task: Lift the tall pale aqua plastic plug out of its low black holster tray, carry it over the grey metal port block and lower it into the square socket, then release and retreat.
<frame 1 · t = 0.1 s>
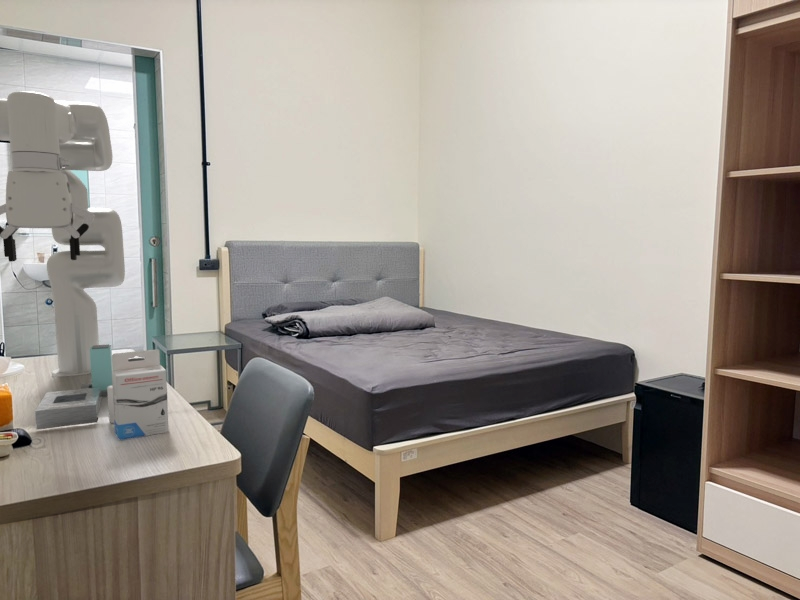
hand: (43, 260, 107), 31 cm above the table, fingers open, 9 cm apart
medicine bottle: (137, 421, 113), on the table
holster: (103, 395, 130), on the table
port: (71, 415, 116), on the table
ink box: (142, 433, 106), on the table
plug: (103, 391, 130), point 1 cm above the table, touching holster
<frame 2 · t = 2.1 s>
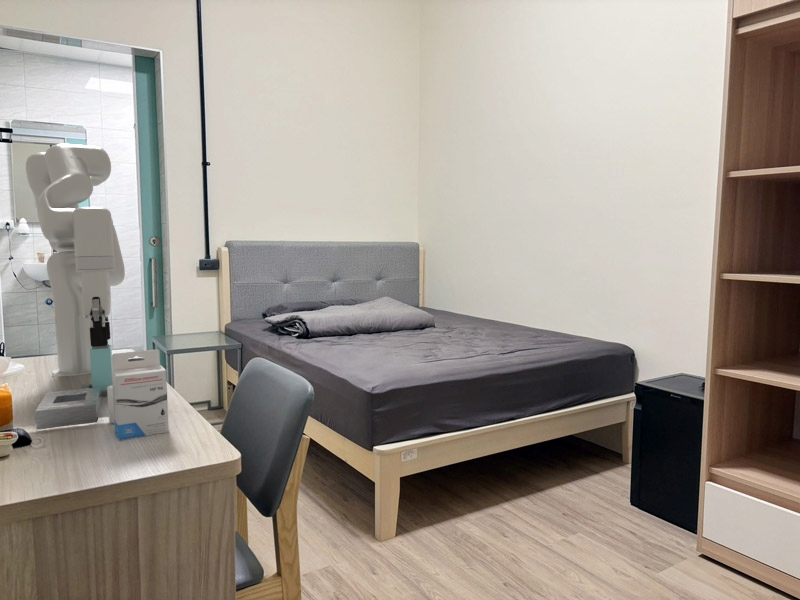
hand: (101, 342, 128), 12 cm above the table, fingers open, 9 cm apart
nothing on the table moved.
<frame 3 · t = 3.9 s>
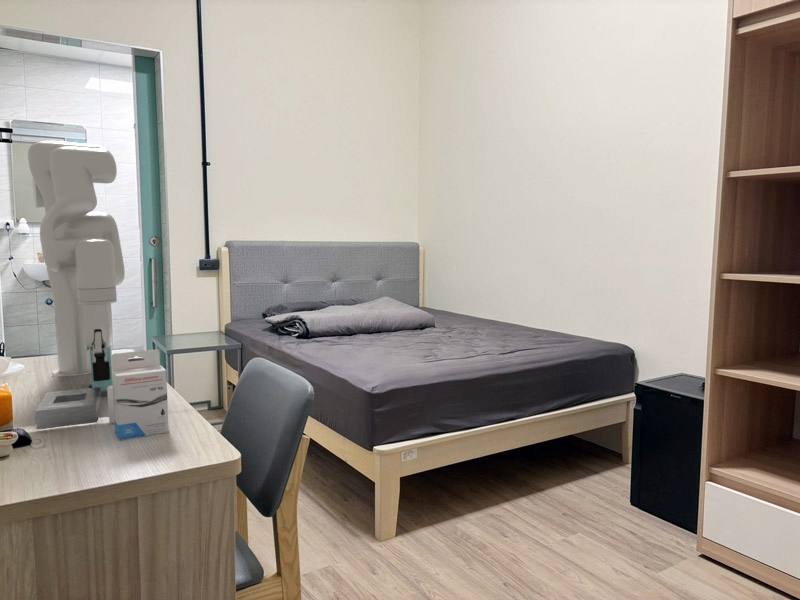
hand: (102, 377, 130), 4 cm above the table, fingers closed on plug, 4 cm apart
plug: (103, 391, 130), point 1 cm above the table, touching gripper, holster
everything else where it was.
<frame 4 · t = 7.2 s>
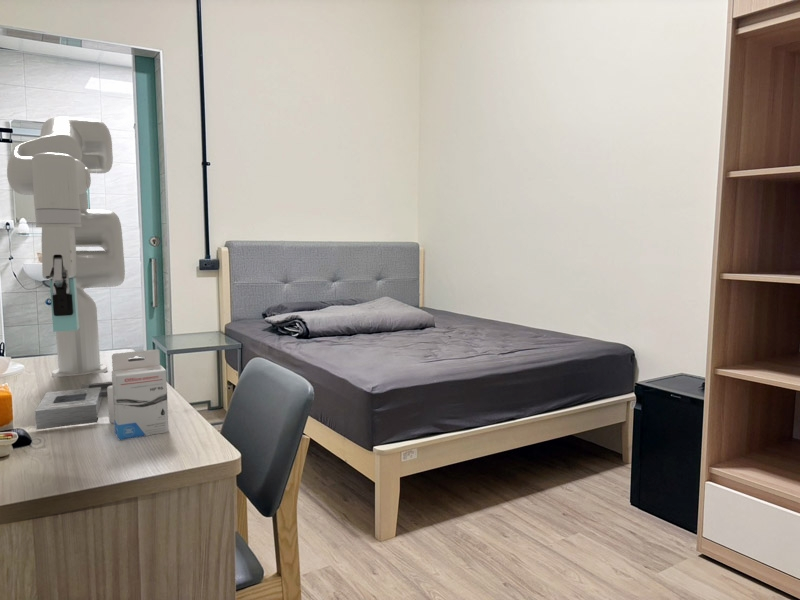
hand: (65, 313, 114), 21 cm above the table, fingers closed on plug, 4 cm apart
plug: (66, 329, 115), point 17 cm above the table, touching gripper
everything else where it was.
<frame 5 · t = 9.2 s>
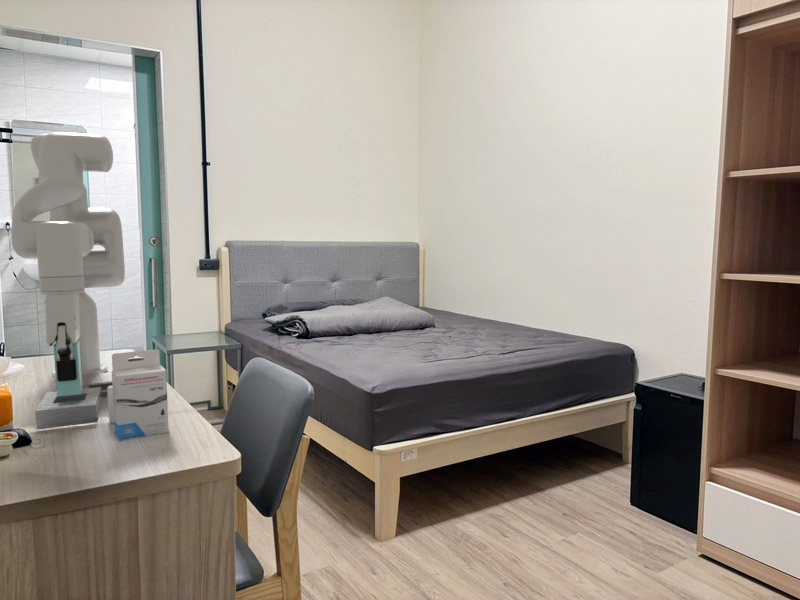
hand: (68, 376, 115), 8 cm above the table, fingers closed on plug, 4 cm apart
plug: (70, 392, 116), point 5 cm above the table, touching gripper
everything else where it was.
when the fingers open (5 cm above the table, at t = 10.8 s): plug stays where it is, resting on port.
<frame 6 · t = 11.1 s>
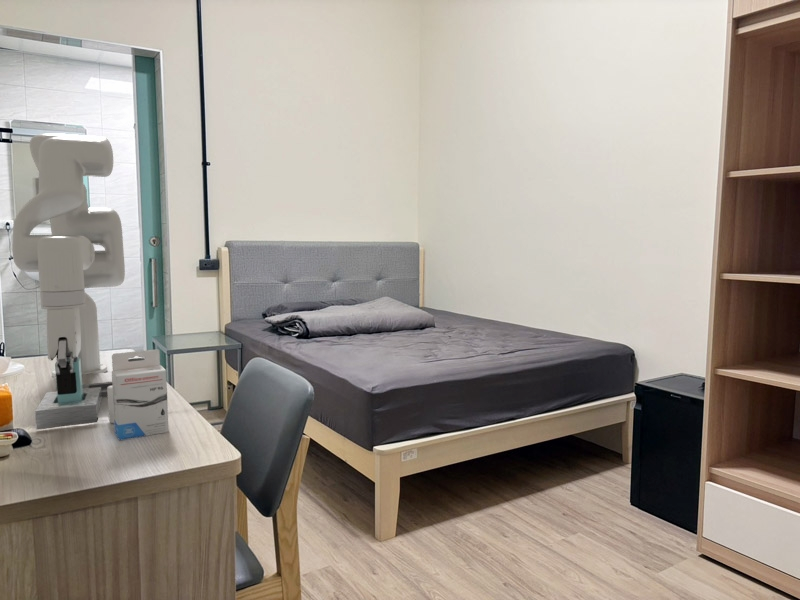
hand: (69, 388, 116), 6 cm above the table, fingers open, 7 cm apart
plug: (71, 410, 116), point 1 cm above the table, touching port
everything else where it was.
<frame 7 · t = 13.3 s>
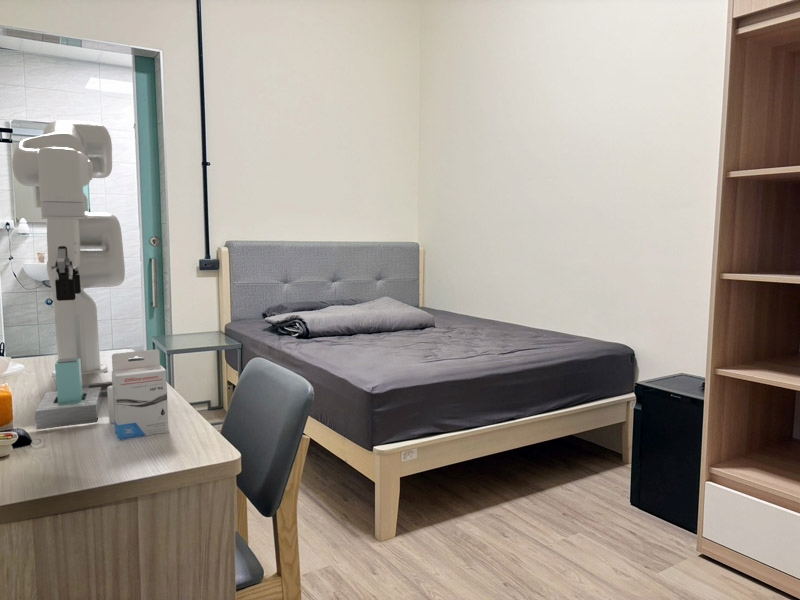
hand: (69, 296, 119), 23 cm above the table, fingers open, 9 cm apart
nothing on the table moved.
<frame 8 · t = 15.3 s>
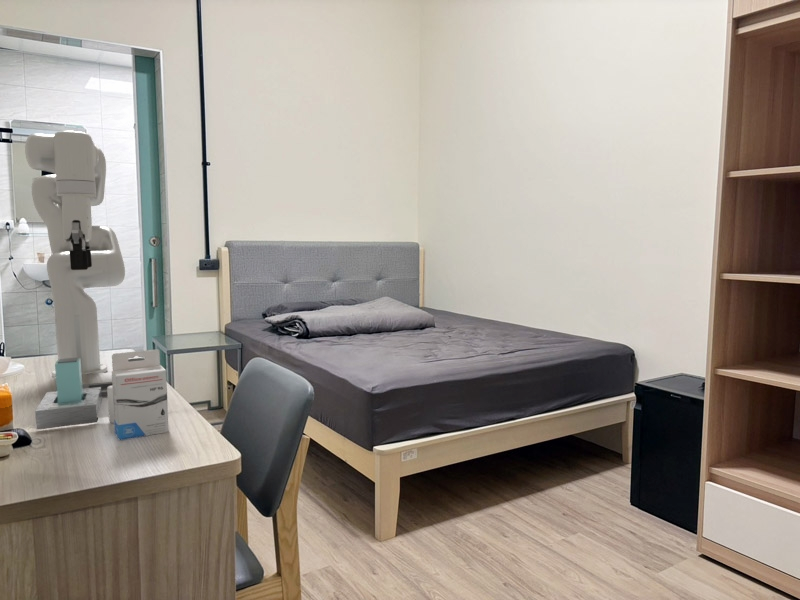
hand: (81, 268, 129), 28 cm above the table, fingers open, 9 cm apart
nothing on the table moved.
at the end: plug 0.0 cm off-centre on the port, point 1.0 cm above the port's base; plug tilted 0°; the gripper is holding nothing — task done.
